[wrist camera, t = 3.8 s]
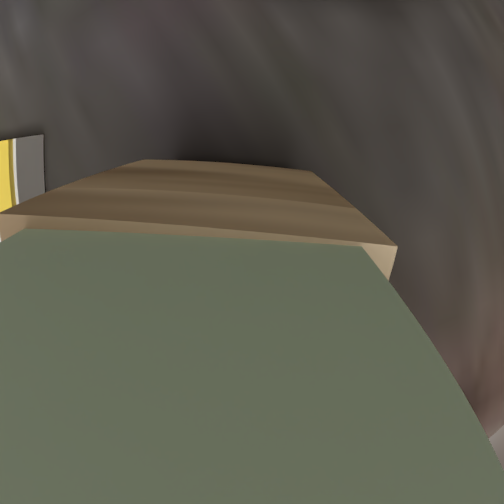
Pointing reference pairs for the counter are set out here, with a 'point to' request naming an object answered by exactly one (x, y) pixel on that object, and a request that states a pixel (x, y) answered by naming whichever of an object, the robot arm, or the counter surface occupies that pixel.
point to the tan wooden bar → (204, 206)
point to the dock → (21, 170)
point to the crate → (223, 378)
